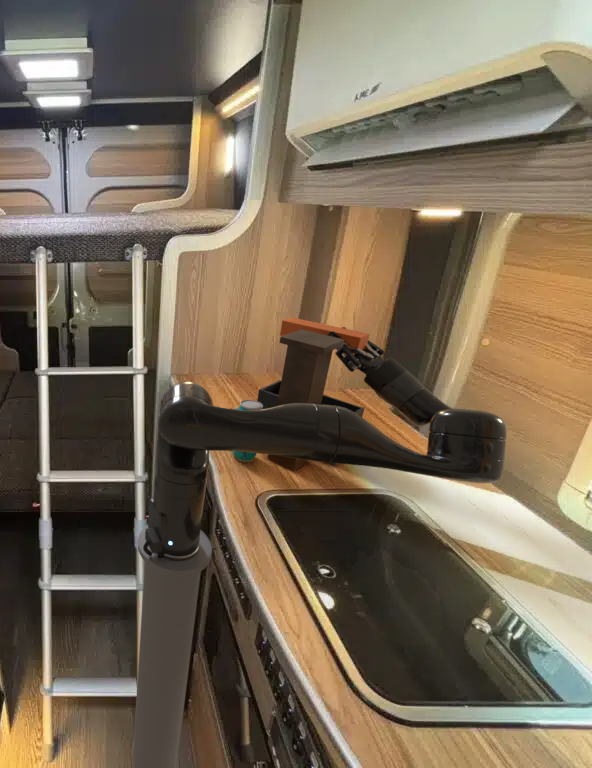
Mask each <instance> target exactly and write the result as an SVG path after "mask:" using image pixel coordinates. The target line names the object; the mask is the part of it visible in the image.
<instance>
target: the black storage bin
mask: <svg viewBox="0 0 592 768" xmlns="http://www.w3.org/2000/svg"><path fill="white" fill-rule="evenodd" d="M281 380H282V379H280V380H279V379H278V380H276V381H275V382H273V383H270V384H268V385H266V386H263V387H261V388H259V389H258V393H257V399H256V401H258V402H260V403H261V404H262V405H263V409H267V408H271V407H275V406H277V402H278V397H279V391H280V386H281ZM321 404H322V405H332V406H340V407H344V408H347V409H349V410H351V411H353V412H355V413H356V414H358V415H359V416H361V417H362V418H363V416H364V412H365V407H362V406H359V405H356V404H353V403H350V402H347V401H344V400H342V399H338V398H335V397H332V396H329V395H326V394H323V397H322V402H321ZM326 463H327V464H330V465H331V466H335V465H338V463H328V462H326Z"/></svg>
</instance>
